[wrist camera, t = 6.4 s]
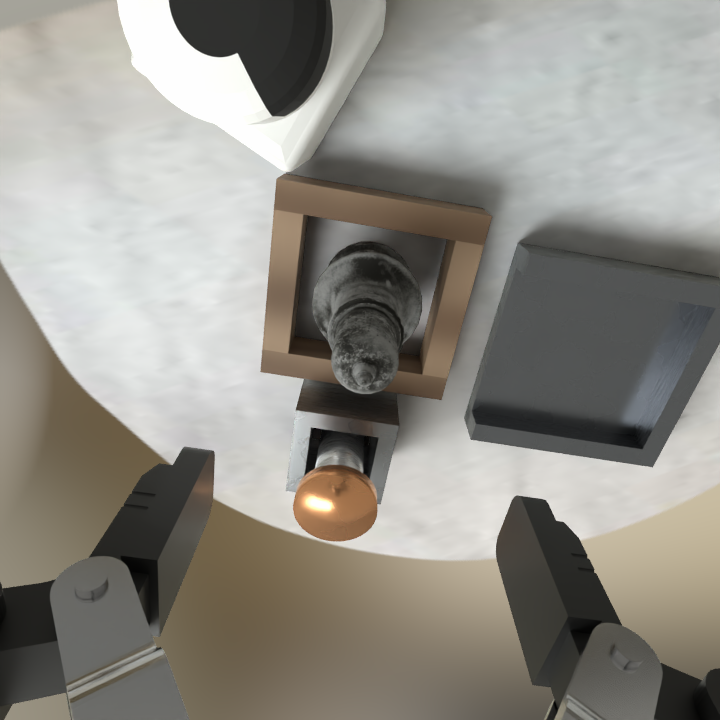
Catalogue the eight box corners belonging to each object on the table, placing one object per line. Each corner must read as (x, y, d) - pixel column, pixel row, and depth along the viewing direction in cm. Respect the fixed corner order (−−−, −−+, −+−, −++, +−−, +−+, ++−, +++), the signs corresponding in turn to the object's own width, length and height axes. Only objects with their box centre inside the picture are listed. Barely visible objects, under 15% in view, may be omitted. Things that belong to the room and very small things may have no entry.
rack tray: (518, 242, 28) (530, 253, 26) (718, 277, 29) (747, 290, 26) (464, 417, 33) (470, 439, 31) (634, 444, 34) (652, 467, 32)
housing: (305, 373, 32) (295, 410, 28) (395, 387, 32) (399, 425, 28) (296, 447, 35) (285, 490, 31) (379, 459, 35) (380, 504, 31)
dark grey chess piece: (346, 345, 31) (331, 466, 20) (300, 263, 29) (257, 351, 18) (432, 307, 30) (465, 415, 19) (391, 218, 28) (403, 284, 17)
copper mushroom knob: (313, 399, 31) (297, 471, 25) (382, 410, 31) (384, 484, 25) (305, 455, 33) (289, 535, 27) (370, 464, 33) (369, 546, 27)
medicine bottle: (256, -75, 22) (144, -258, 11) (386, 30, 24) (396, -42, 13) (188, 77, 25) (46, 46, 14) (309, 162, 26) (265, 193, 16)
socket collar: (284, 173, 27) (276, 178, 24) (482, 208, 27) (492, 216, 25) (268, 353, 31) (260, 372, 29) (436, 380, 32) (441, 399, 30)
